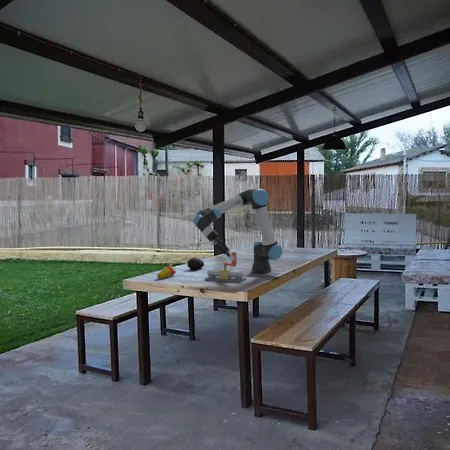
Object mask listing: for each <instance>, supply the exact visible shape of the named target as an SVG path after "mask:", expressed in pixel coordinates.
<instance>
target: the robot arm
mask: <svg viewBox="0 0 450 450" xmlns="http://www.w3.org/2000/svg"><path fill="white" fill-rule="evenodd" d="M269 199H270V198H269V193H268V192H267V191H266V190H265V189H262V188H255V189H254V188H252V189H251V188H250V189H246V190H244V191H242V192H239V193H238V194H235V196H234V197H230V199H226V200H224V201H222V202H219V203H217V204H215V205H212V206H210V207H208V208H205V209H200V210H198V211H196V214H195V215H196V216H195V217H194V218H193V219H192V223H193V225H195V226H196V228H197V229H198V230H199V231H200V232H201V233H202V235H203V236H205V238H206V239H207V240H208V242H212V243H211V245H213V246H215V248H217V249H218V251H220V252H221V253H222V254H223V255H226V257H227V258H228V259H229V260H230V261H231V262H232V261H233V260H234V259H235V257H234V256H233V255H232V252H230V249H229V247H228V246H227V245H226V243H225V241H224V240H223V239H221V238H219V237H218V236H219V234H218V232H217V231H216V230H215V229H214V227H212V226H211V224H213V223H214V222H216V221H217V220H218V219H219V218H221V217H222V214H224V213H226V212H229V211H232V210H233V209H236V208H238V207H240V208H242V207H245V206H251V208H252V209H251V210H252V211H254V212H255V216H256V219H257V224H258V228H259V231H260V234H261V239H262V241H255V242H254V243H253V262H252V266H251V272H252V273H263V274H264V273H265V274H266V273H271V272H272V266H271V263H270V261H277V260H279V259H280V258H281V257H282V255H283V250H284V249H283V247H282V245H280V244H279V243H278V240H277V239H276V238H275V236H274V231H273V228H272V224H271V221H270V218H269V217H270V216H269V212H268V208H267V207H268V203H269Z"/></svg>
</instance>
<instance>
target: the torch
mask: <svg viewBox="0 0 450 450" xmlns="http://www.w3.org/2000/svg"><path fill="white" fill-rule="evenodd" d="M176 273H177V270H176V268H174V266H173V262H171V263H169V264H168V266H165V267H163V268H162V269H161V271H160V272H158V273H157V275H156V277H157V279H164V278H167V277H169V278H170V277H171V276H174V275H175V274H176Z"/></svg>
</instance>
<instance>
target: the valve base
mask: <svg viewBox="0 0 450 450" xmlns="http://www.w3.org/2000/svg"><path fill="white" fill-rule="evenodd" d="M227 266H228V265H223V268H221V269H219V270H213V269H211V270H210V269H209V270H207V272H206V274H207V276H208V277H204V281H205V282H218V283H219V282H220V283H233V284H235V283H237V284H241V283H243V282H245V281H247V277H245V273H244V271H236V270H235V271H232V269H231V268H228V267H227Z"/></svg>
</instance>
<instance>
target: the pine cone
mask: <svg viewBox="0 0 450 450" xmlns="http://www.w3.org/2000/svg"><path fill="white" fill-rule="evenodd" d="M204 266H205V263H204V261H203V260H201V258H199V257H191V258H190V259H188V260H187V267H188V269H189V271H194V272H195V271H201V270H203V269H204Z"/></svg>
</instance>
